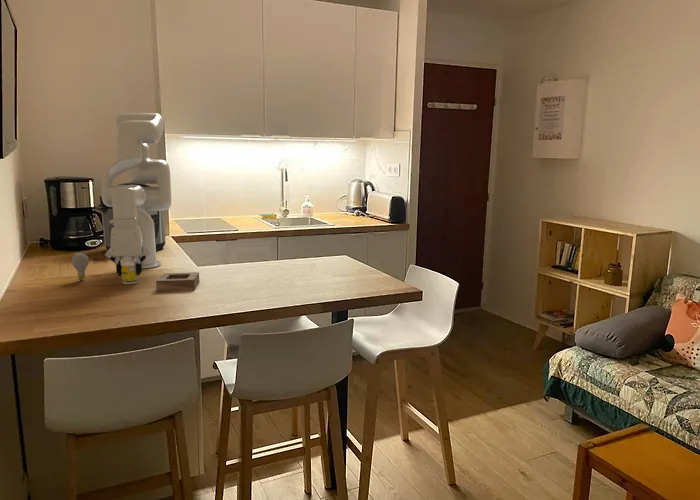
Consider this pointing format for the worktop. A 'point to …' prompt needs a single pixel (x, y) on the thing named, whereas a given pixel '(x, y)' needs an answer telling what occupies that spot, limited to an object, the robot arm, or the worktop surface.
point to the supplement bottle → (129, 270)
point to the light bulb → (80, 264)
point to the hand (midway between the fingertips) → (129, 274)
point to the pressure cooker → (155, 215)
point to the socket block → (177, 281)
